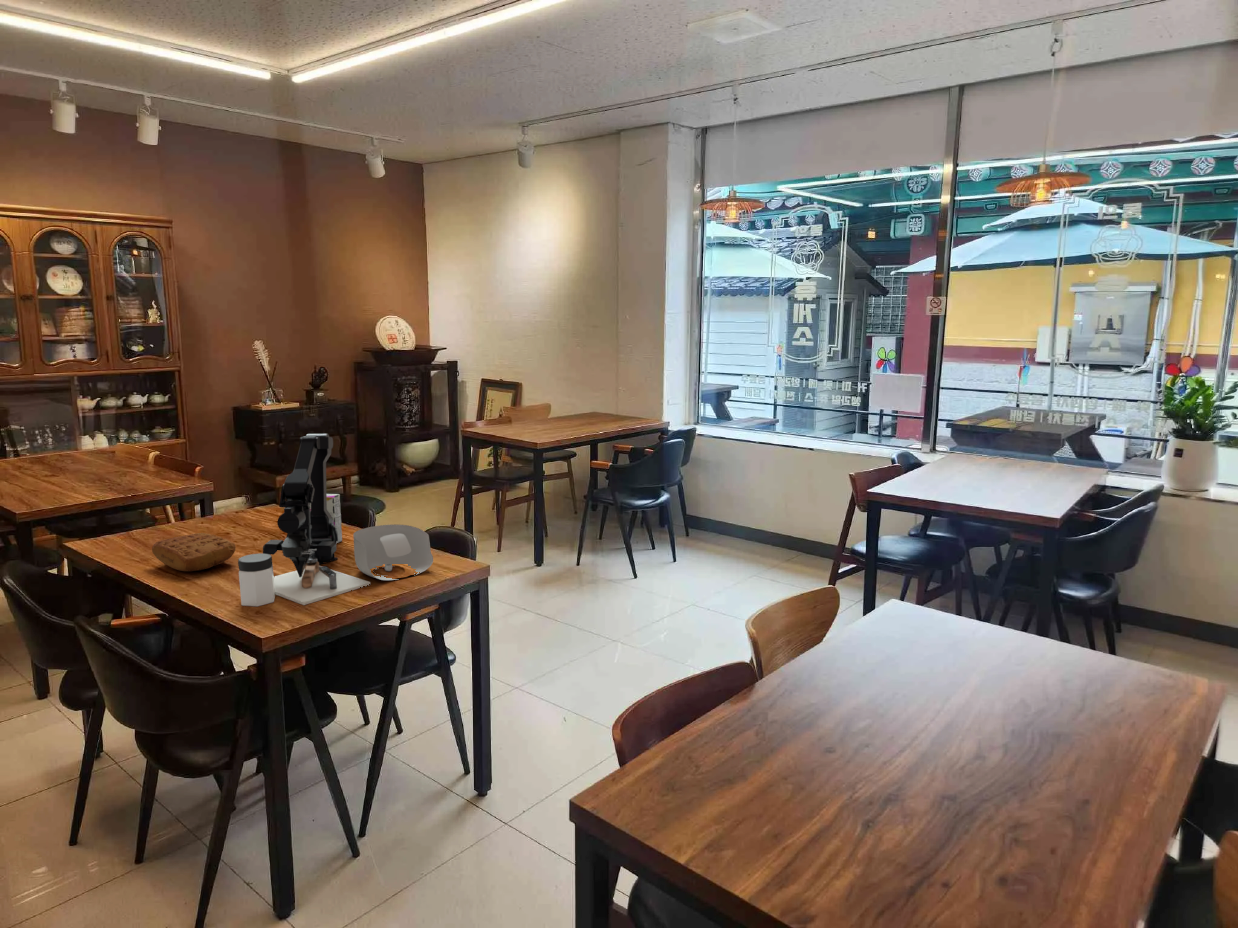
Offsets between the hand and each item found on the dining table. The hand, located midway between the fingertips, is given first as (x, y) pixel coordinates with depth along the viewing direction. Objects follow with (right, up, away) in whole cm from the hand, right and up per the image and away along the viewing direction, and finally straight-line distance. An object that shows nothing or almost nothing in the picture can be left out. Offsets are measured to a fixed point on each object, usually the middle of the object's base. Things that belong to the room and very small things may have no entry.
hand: (300, 576), depth 224 cm
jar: (-5, -5, -15) cm, 16 cm away
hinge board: (+4, -2, -2) cm, 5 cm away
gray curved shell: (+22, 0, +11) cm, 25 cm away
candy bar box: (-9, +6, +41) cm, 42 cm away
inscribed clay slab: (-38, +1, +15) cm, 41 cm away
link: (+2, 0, +1) cm, 2 cm away
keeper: (+6, -1, 0) cm, 6 cm away
